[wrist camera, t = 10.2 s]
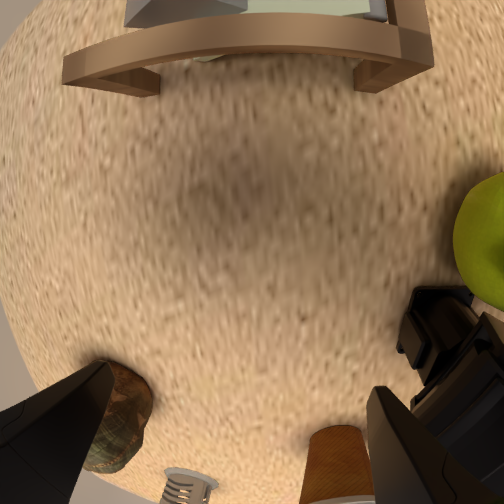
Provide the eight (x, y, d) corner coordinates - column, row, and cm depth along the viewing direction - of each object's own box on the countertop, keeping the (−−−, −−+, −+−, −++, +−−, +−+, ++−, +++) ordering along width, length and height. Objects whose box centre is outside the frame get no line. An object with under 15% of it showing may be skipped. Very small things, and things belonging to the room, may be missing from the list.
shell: (65, 349, 28) (11, 414, 17) (133, 350, 26) (76, 441, 15) (107, 409, 32) (70, 473, 21) (174, 417, 30) (142, 498, 19)
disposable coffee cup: (310, 460, 31) (309, 536, 20) (284, 429, 28) (276, 522, 17) (379, 442, 28) (391, 520, 17) (366, 407, 26) (381, 505, 15)
